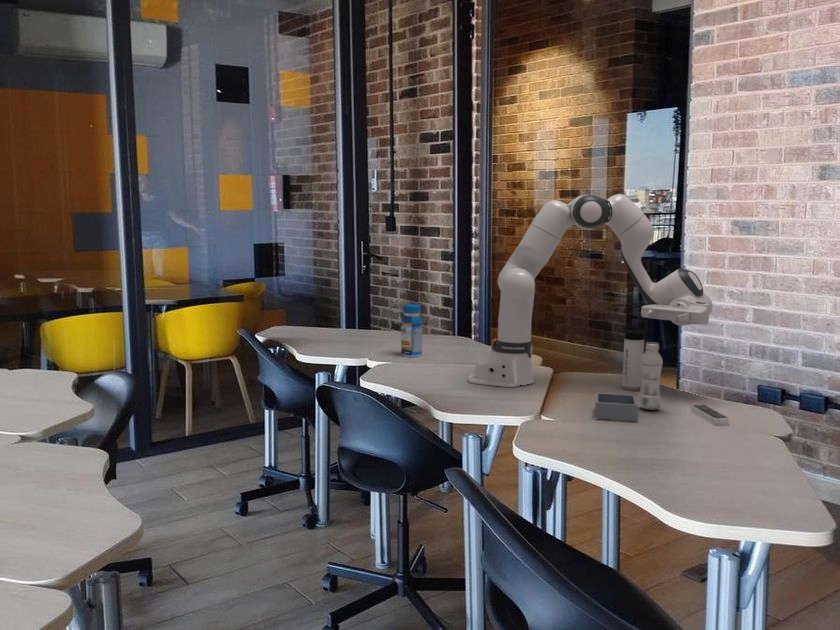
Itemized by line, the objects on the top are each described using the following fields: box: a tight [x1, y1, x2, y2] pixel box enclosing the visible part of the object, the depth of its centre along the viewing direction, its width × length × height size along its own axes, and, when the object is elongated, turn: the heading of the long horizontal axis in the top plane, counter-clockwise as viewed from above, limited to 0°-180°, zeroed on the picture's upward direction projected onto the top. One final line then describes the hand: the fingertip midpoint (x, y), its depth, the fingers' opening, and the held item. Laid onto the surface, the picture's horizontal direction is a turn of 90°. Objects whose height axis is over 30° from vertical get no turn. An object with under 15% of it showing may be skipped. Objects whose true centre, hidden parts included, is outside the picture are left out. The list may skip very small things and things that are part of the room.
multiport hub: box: [690, 404, 730, 426], centre depth 230 cm, size 4×14×2 cm, turn 8°
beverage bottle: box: [400, 303, 424, 358], centre depth 311 cm, size 8×8×20 cm
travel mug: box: [621, 326, 645, 391], centre depth 262 cm, size 6×7×20 cm
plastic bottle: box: [637, 341, 664, 411], centre depth 237 cm, size 6×7×20 cm
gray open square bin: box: [594, 392, 639, 422], centre depth 232 cm, size 12×12×5 cm
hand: (663, 316), depth 245 cm, fingers open, 8 cm apart
